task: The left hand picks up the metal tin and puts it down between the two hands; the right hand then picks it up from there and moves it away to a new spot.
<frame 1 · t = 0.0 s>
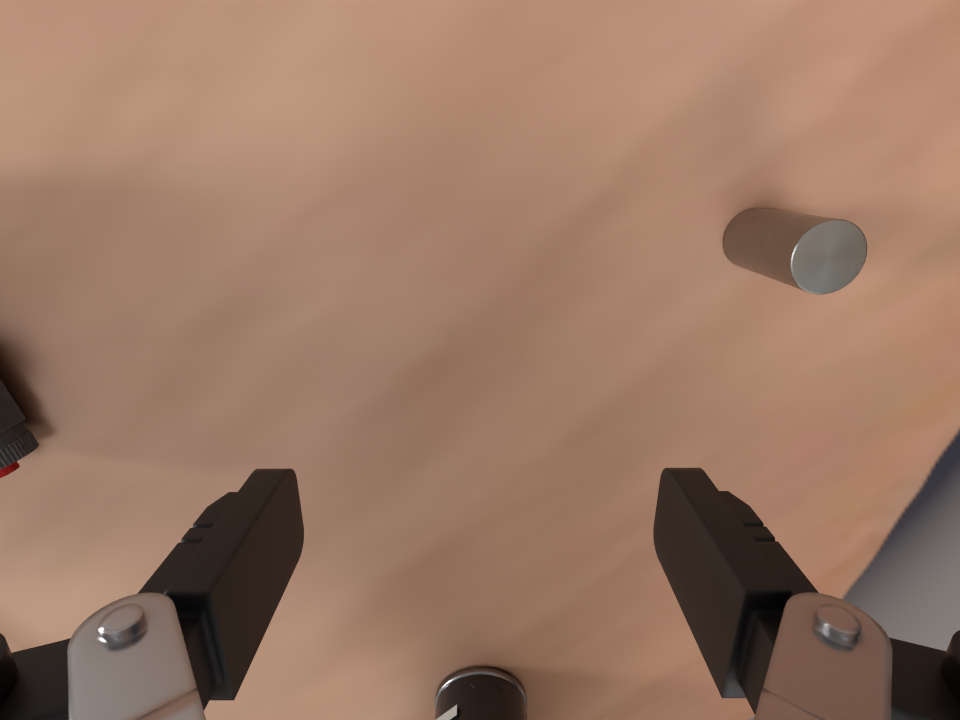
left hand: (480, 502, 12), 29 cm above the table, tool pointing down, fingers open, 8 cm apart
tin: (752, 238, 38), on the table
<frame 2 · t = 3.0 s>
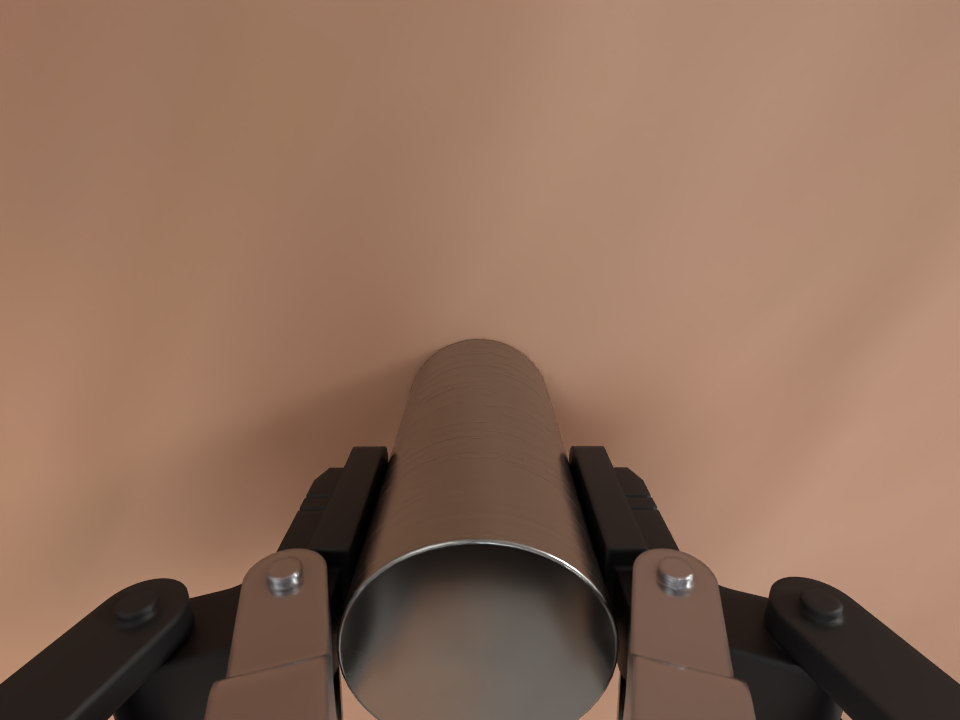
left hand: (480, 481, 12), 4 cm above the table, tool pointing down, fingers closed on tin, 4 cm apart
tin: (479, 403, 16), on the table, touching left hand
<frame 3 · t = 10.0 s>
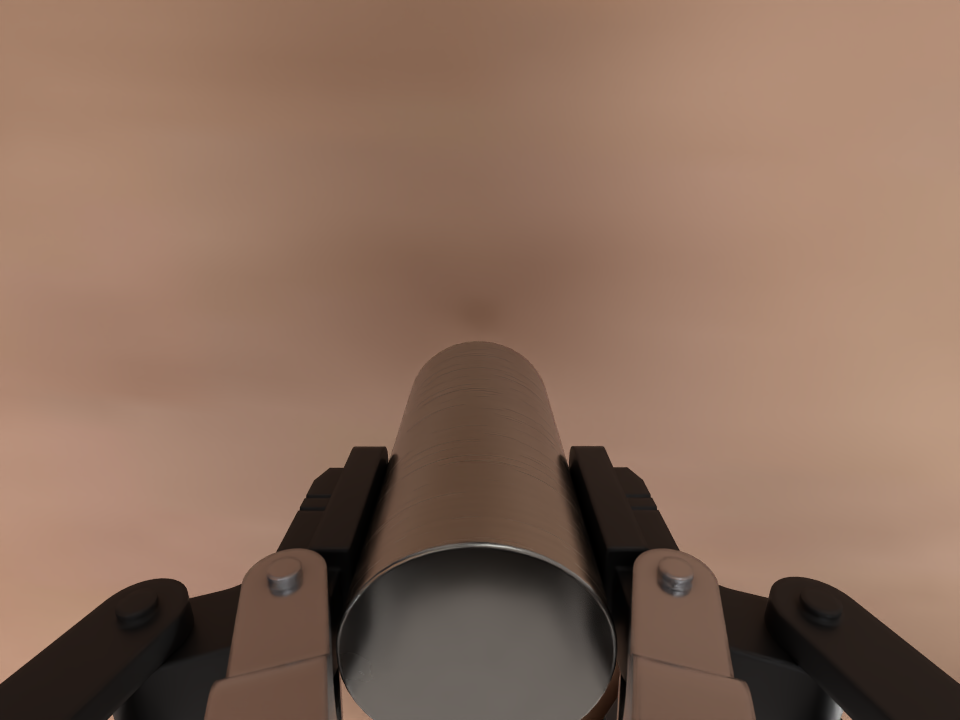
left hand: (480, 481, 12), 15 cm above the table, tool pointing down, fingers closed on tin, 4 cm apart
tin: (478, 405, 16), point 11 cm above the table, touching left hand
when the left hand's fingers open (6 cm above the table, at t = 16.9 s): tin drops 1 cm, on the table.
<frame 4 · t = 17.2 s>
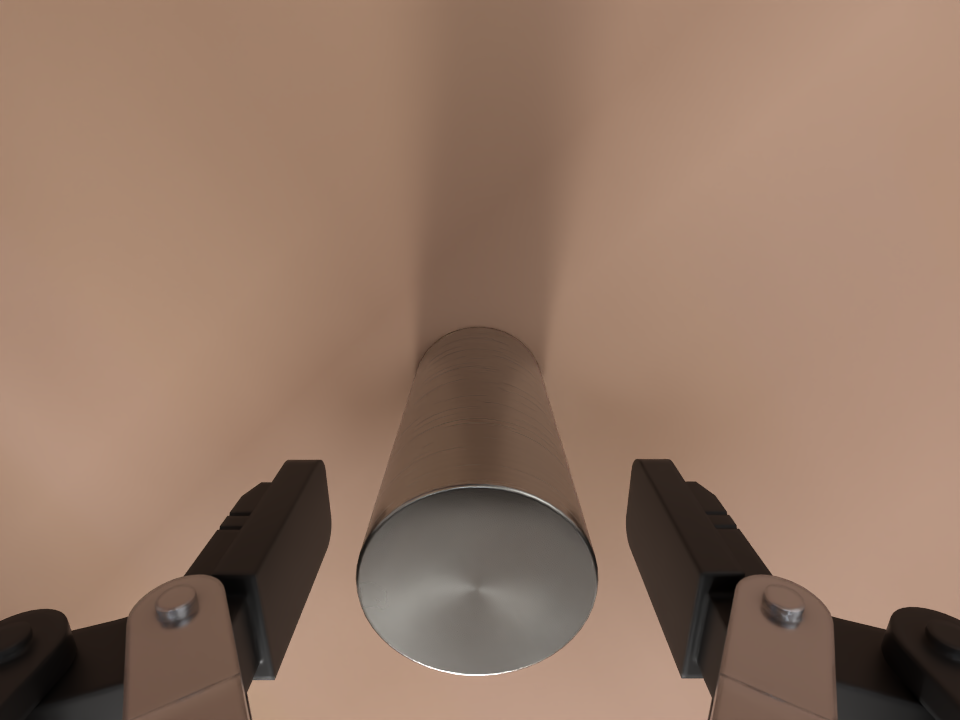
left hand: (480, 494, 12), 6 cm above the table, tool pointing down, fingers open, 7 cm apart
tin: (478, 387, 18), on the table
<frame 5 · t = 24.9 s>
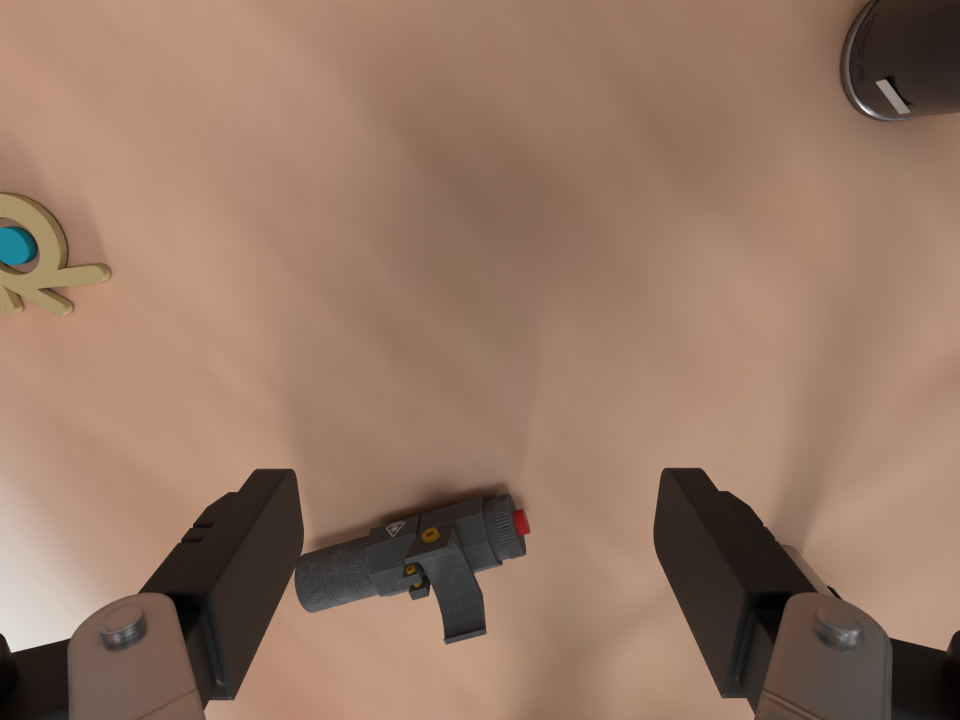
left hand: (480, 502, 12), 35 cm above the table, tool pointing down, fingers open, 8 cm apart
tin: (779, 561, 55), on the table, touching right hand
laser sight: (419, 530, 54), on the table
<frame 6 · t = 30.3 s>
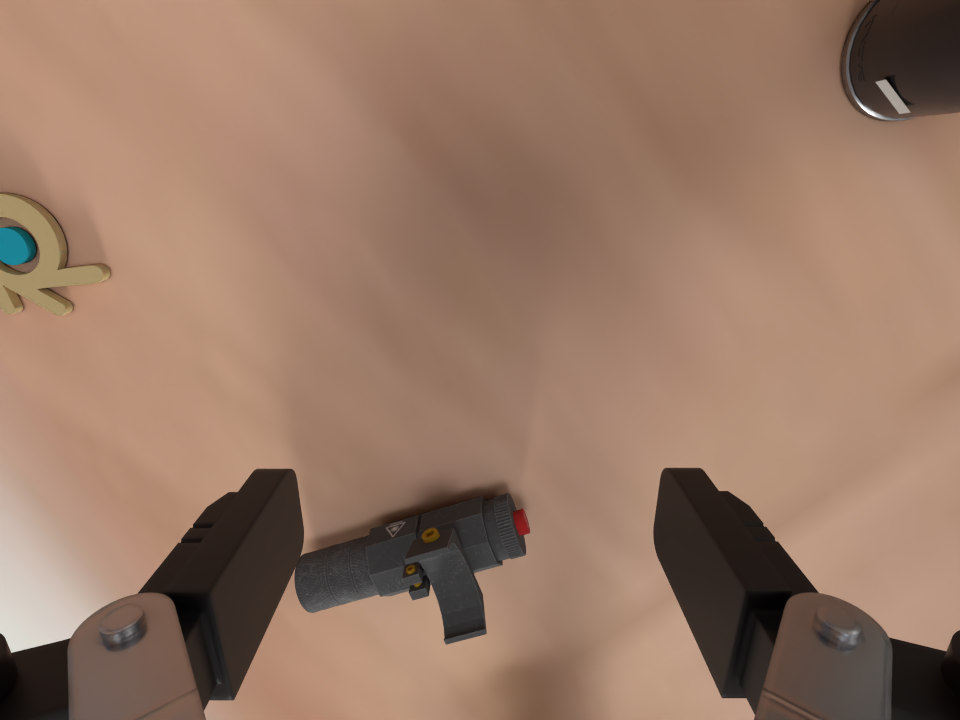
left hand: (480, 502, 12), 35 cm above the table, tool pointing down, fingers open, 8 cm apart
laser sight: (419, 530, 54), on the table
when the right hand's fingers open (5 cm above the table, at t = 36.0 s): tin drops 1 cm, on the table.
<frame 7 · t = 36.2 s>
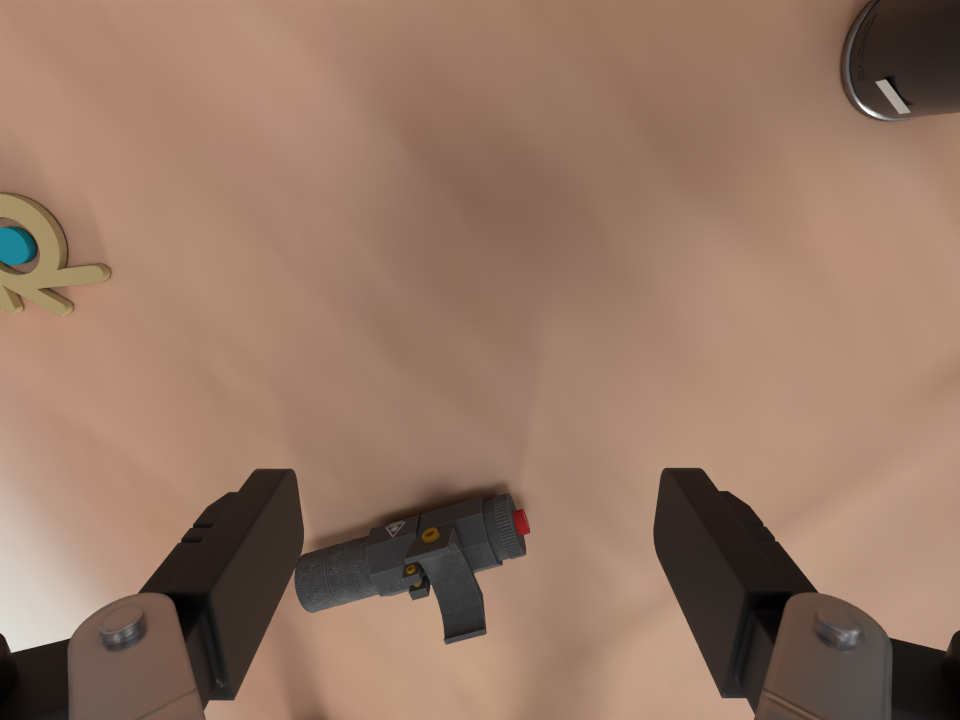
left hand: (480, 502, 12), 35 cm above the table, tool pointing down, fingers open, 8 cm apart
laser sight: (419, 530, 54), on the table
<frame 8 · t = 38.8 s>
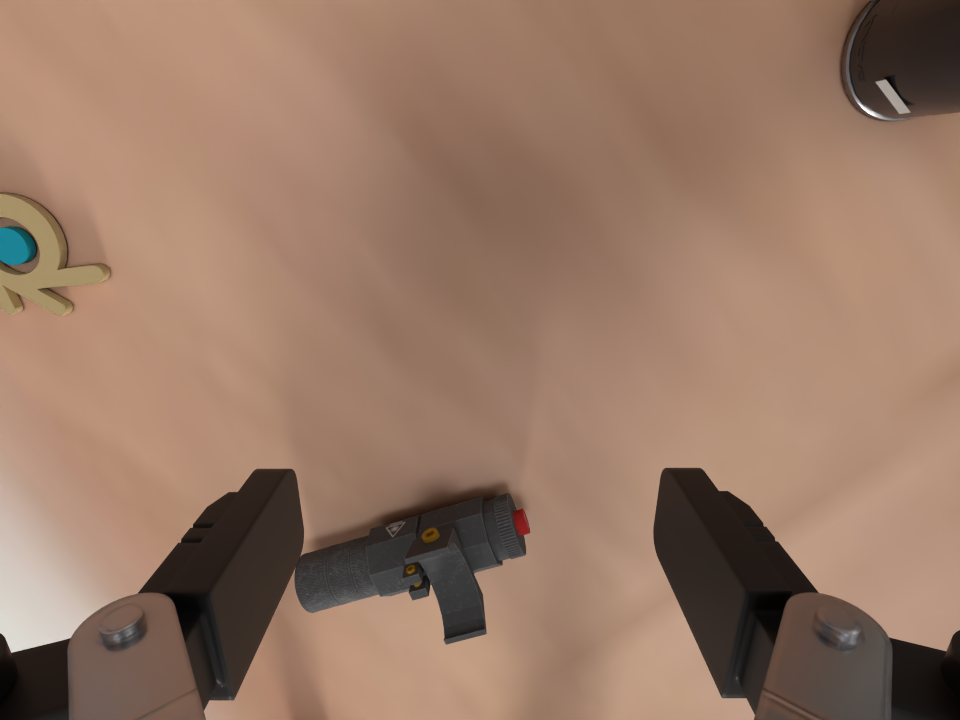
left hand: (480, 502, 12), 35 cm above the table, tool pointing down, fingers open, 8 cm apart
laser sight: (419, 530, 54), on the table
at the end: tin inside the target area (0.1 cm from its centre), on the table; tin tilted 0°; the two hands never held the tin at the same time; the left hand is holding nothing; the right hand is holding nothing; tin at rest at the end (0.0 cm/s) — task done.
